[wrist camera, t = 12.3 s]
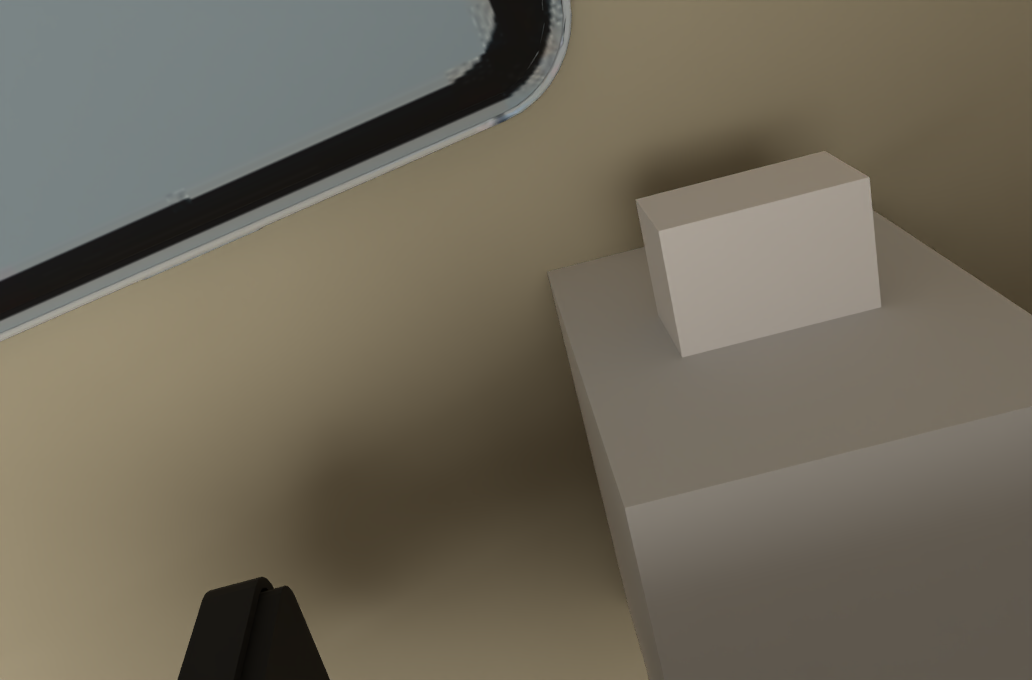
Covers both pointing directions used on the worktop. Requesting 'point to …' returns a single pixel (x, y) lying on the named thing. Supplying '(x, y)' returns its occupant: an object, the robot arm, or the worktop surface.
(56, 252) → the smartphone
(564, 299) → the cable plug
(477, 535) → the worktop surface
